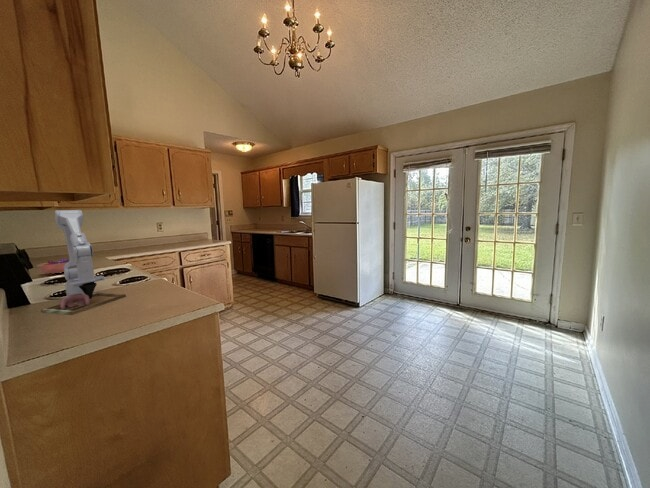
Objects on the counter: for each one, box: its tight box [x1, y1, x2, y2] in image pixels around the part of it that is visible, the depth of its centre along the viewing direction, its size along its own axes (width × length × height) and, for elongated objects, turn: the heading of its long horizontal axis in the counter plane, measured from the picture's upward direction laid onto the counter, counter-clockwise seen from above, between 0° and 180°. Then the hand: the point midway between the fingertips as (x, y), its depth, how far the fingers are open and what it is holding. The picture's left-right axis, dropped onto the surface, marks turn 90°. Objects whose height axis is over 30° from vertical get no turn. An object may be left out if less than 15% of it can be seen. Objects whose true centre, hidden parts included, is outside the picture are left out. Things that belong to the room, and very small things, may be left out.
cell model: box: [36, 257, 71, 275], centre depth 197 cm, size 17×20×11 cm
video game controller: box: [59, 294, 91, 310], centre depth 124 cm, size 10×5×7 cm, turn 128°
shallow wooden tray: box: [40, 292, 127, 316], centre depth 128 cm, size 18×24×1 cm
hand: (89, 298), depth 130 cm, fingers closed
